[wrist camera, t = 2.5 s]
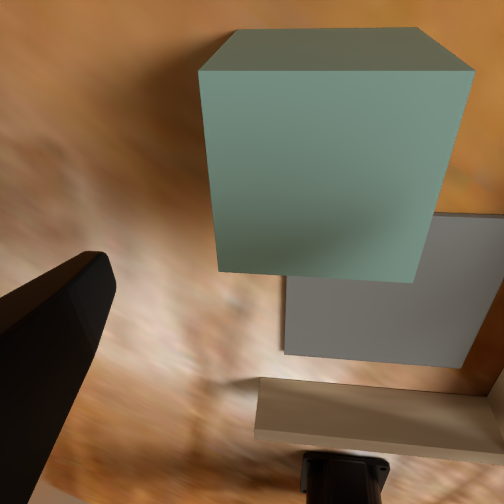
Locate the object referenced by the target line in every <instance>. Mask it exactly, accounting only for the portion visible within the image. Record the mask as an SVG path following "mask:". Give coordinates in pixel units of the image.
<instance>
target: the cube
mask: <svg viewBox="0 0 504 504" xmlns="http://www.w3.org/2000/svg"><path fill="white" fill-rule="evenodd" d="M475 72H476V71H475V70H474V69H473V68H471V67H470V66H469V65H467V64H466V63H465V62H463V61H462V60H461V59H459V58H458V57H456V56H455V55H454V54H452V53H451V52H450V51H448V50H447V49H446V48H444V47H443V46H442V45H440V44H439V43H438V42H436V41H435V40H434V39H432V38H431V37H430V36H428V35H427V34H426V33H424V32H423V31H421V30H420V29H419V28H417V27H400V28H320V29H239V30H236V31H235V32H234V34H233V35H232V36H231V37H230V38H229V39H228V40H227V41H226V42H225V43H224V44H223V45H222V46H221V47H220V48H219V49H218V50H217V51H216V52H215V53H214V54H213V56H212V57H211V58H210V59H209V60H208V61H207V62H206V63H205V64H204V65H203V66H202V67H201V68H200V69H199V70H198V77H199V86H200V96H201V106H202V115H203V125H204V135H205V144H206V154H207V164H208V173H209V183H210V193H211V202H212V212H213V222H214V231H215V241H216V251H217V260H218V270H219V272H232V273H249V274H266V275H283V276H299V277H316V278H333V279H350V280H367V281H384V282H400V283H413V281H414V278H415V274H416V271H417V268H418V264H419V261H420V258H421V254H422V251H423V247H424V244H425V241H426V237H427V234H428V231H429V227H430V224H431V220H432V217H433V214H434V210H435V207H436V204H437V200H438V197H439V193H440V190H441V187H442V183H443V180H444V177H445V173H446V170H447V166H448V163H449V160H450V156H451V153H452V149H453V146H454V143H455V139H456V136H457V133H458V129H459V126H460V122H461V119H462V116H463V112H464V109H465V106H466V102H467V99H468V95H469V92H470V89H471V85H472V82H473V79H474V75H475Z"/></svg>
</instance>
